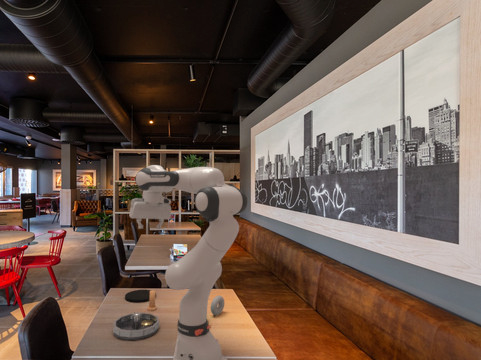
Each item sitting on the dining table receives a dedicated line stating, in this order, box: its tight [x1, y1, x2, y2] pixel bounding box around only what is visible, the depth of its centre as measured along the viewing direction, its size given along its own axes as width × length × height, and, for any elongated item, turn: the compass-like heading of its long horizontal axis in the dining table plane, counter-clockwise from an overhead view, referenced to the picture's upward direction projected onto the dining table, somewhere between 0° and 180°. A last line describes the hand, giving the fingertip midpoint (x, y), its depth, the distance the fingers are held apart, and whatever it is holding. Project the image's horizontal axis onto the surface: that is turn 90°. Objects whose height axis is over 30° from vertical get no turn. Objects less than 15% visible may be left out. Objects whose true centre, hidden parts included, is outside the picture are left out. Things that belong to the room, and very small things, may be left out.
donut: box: [210, 295, 225, 316], centre depth 168 cm, size 10×4×10 cm, turn 147°
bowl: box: [112, 311, 160, 342], centre depth 147 cm, size 20×20×8 cm
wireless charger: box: [124, 289, 157, 304], centre depth 189 cm, size 18×18×2 cm
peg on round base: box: [147, 289, 158, 312], centre depth 171 cm, size 5×5×10 cm
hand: (149, 228), depth 148 cm, fingers open, 8 cm apart
